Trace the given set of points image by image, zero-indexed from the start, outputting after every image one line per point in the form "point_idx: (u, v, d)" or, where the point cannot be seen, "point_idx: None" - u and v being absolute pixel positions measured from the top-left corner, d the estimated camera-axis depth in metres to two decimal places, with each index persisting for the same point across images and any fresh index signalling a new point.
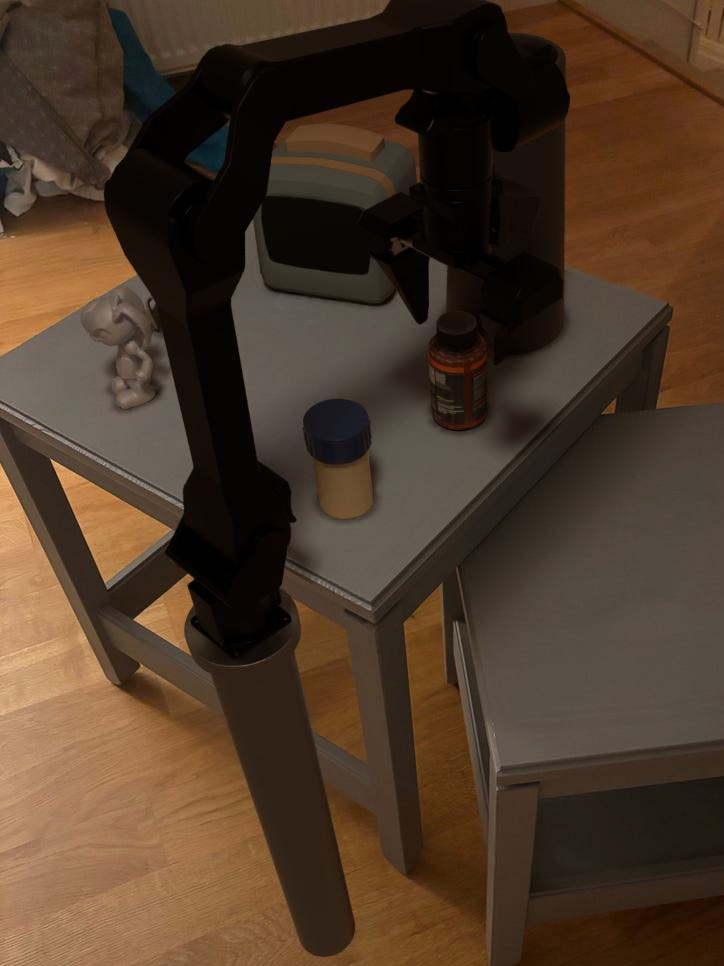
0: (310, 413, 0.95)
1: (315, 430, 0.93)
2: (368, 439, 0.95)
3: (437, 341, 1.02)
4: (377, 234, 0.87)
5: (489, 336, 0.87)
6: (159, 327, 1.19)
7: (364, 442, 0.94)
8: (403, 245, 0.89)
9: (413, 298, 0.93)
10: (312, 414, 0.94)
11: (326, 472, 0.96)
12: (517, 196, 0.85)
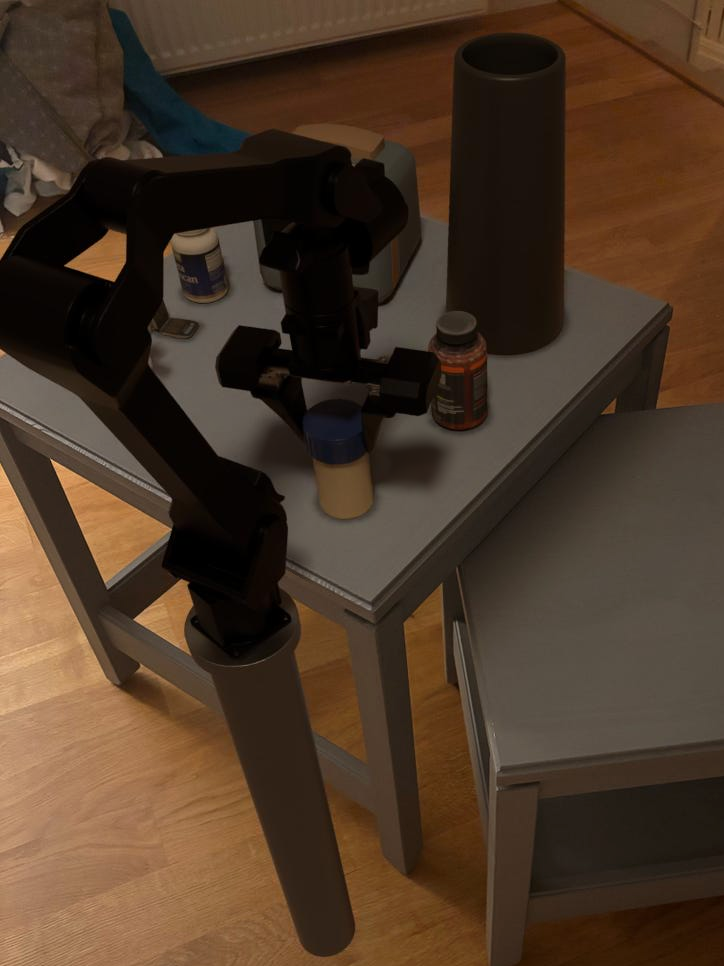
0: (310, 413, 0.95)
1: (315, 430, 0.93)
2: None
3: (437, 341, 1.02)
4: (245, 372, 0.88)
5: (369, 429, 0.91)
6: (159, 327, 1.19)
7: None
8: (282, 377, 0.90)
9: (299, 421, 0.94)
10: (312, 414, 0.94)
11: (326, 472, 0.96)
12: (366, 299, 0.89)
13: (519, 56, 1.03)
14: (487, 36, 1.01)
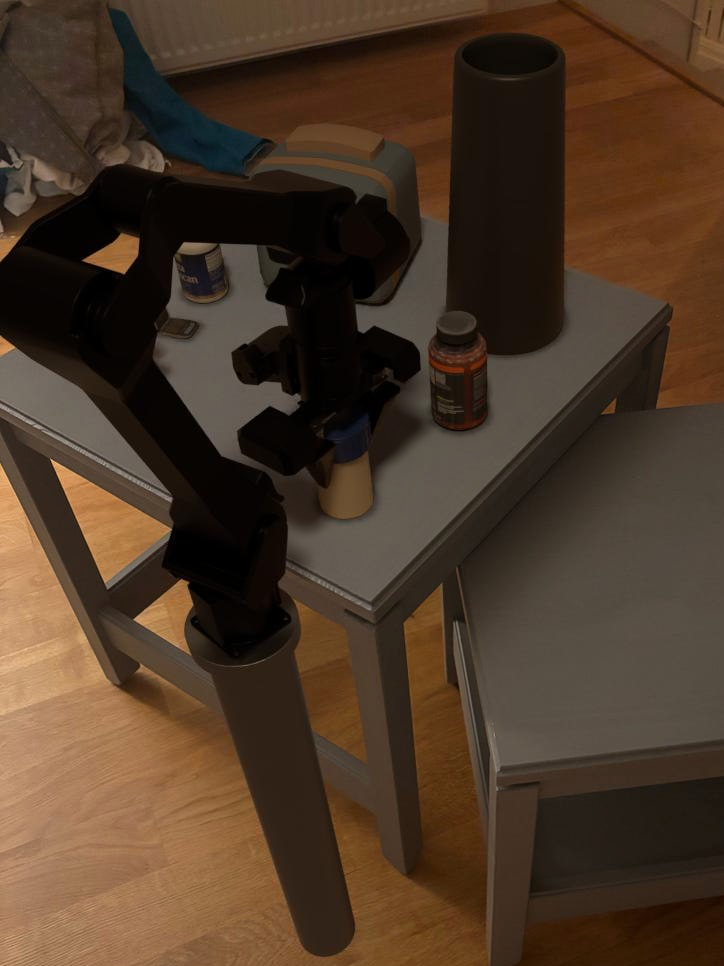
0: None
1: (343, 433, 0.93)
2: None
3: (437, 341, 1.02)
4: (310, 442, 0.87)
5: (380, 421, 0.97)
6: (159, 327, 1.19)
7: None
8: None
9: None
10: None
11: None
12: None
13: (519, 56, 1.03)
14: (487, 36, 1.01)
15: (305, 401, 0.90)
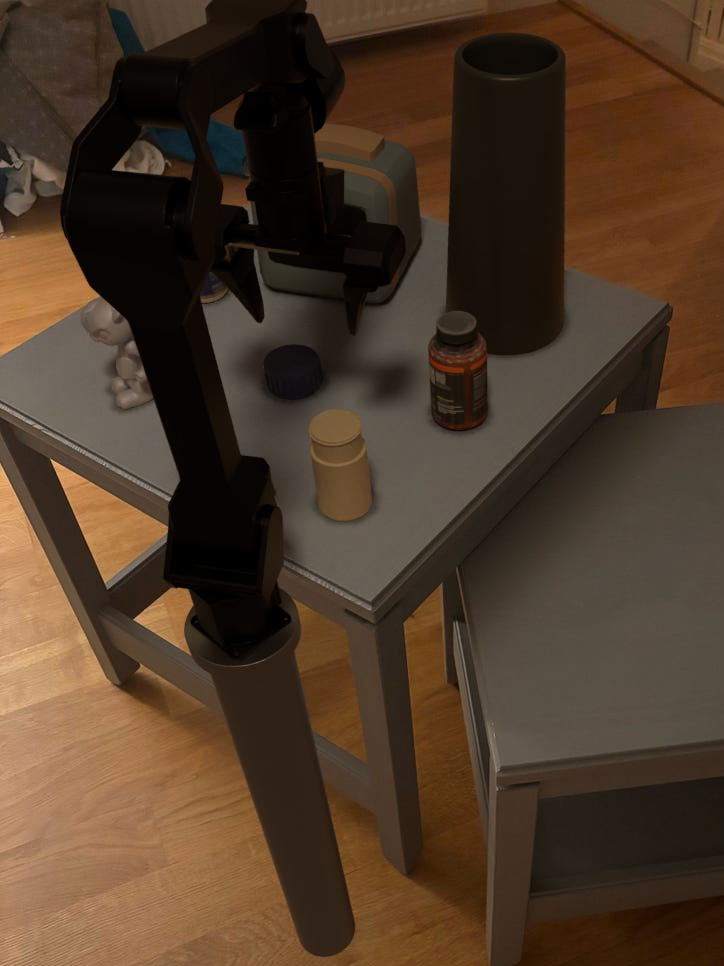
0: (298, 346, 1.13)
1: (276, 352, 1.12)
2: (287, 391, 1.11)
3: (437, 341, 1.02)
4: None
5: (352, 307, 0.93)
6: None
7: (280, 387, 1.11)
8: (233, 250, 0.92)
9: (252, 298, 0.96)
10: (296, 348, 1.13)
11: (326, 475, 0.96)
12: (331, 174, 0.91)
13: (519, 56, 1.03)
14: (487, 36, 1.01)
15: None
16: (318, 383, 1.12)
